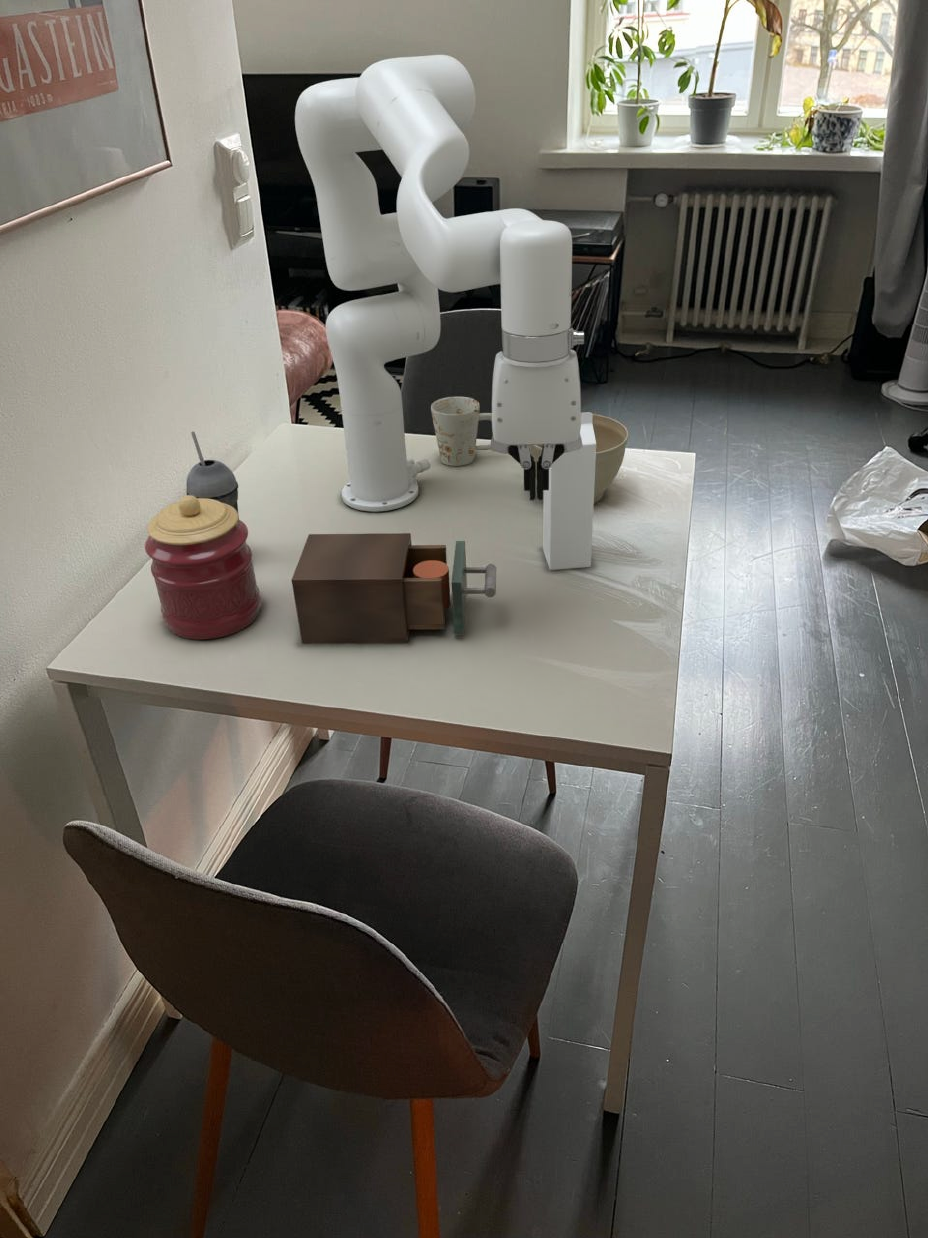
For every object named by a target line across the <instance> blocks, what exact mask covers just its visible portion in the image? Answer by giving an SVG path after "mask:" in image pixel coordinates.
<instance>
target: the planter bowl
mask: <svg viewBox="0 0 928 1238" xmlns="http://www.w3.org/2000/svg"><path fill="white" fill-rule="evenodd" d="M592 415H593V418H592V424H593V429H594V435H595V440H596V460H595V483H594V504H595V503H597V502H599V501H600V500H601V499H602V498H603V497H604V493H605V491H606V489H607V488H609V486H610V485H611V484H612V483H613V481H614V480H615V478H616V477H617V475H618V473H619V471H620V469H621V467H622V464H623V462H624V459H625V454H626V453H625V452H626V446H627V444H628V440H629V431H628V429H627V427H626V426H625V425H624V424H623V423H621V422H619V420H616V419H614V418H612V417H609V416H606V415H605V416H604V415H601V414H596V413H592ZM530 451H531V456H532V457H534V461H535V465H536V480H537V461H538V459H539V457H540V456H541V451H542V445H530Z"/></svg>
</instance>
